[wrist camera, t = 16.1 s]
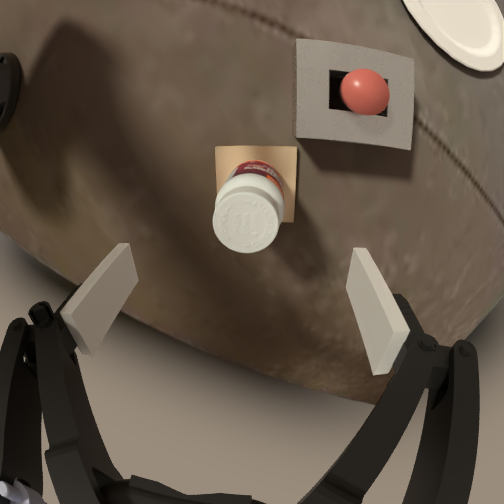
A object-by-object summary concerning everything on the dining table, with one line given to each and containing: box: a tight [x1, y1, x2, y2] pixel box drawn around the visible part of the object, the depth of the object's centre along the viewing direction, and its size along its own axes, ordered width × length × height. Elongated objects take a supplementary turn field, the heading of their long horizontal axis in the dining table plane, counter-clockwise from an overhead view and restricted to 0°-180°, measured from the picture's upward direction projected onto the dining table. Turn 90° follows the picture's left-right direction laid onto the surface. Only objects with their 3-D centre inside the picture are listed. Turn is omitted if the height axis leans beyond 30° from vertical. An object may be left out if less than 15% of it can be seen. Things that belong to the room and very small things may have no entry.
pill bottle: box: [213, 160, 285, 253], centre depth 26 cm, size 6×6×11 cm
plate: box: [403, 0, 504, 71], centre depth 15 cm, size 21×21×2 cm
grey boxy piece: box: [292, 39, 414, 150], centre depth 23 cm, size 12×10×5 cm
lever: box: [338, 69, 390, 115], centre depth 22 cm, size 4×4×6 cm
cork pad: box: [215, 146, 297, 222], centre depth 31 cm, size 9×9×1 cm
